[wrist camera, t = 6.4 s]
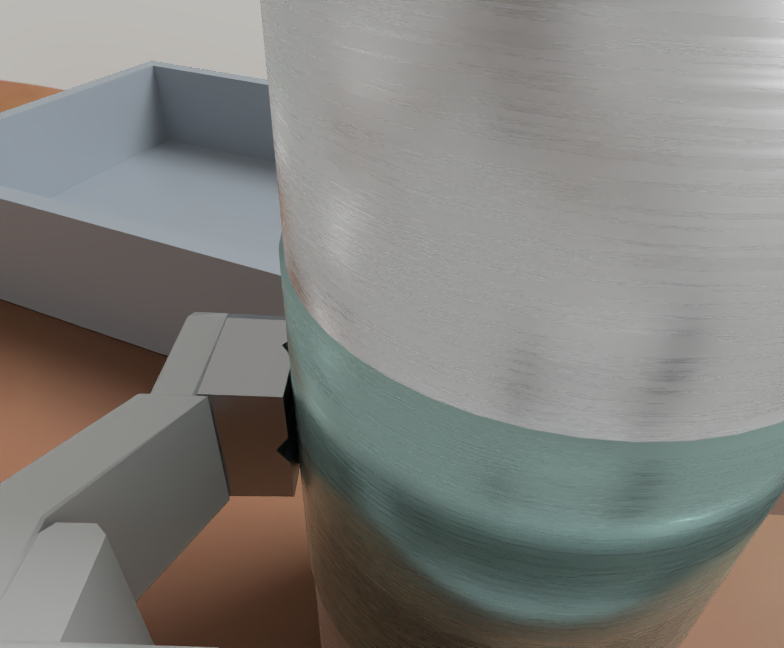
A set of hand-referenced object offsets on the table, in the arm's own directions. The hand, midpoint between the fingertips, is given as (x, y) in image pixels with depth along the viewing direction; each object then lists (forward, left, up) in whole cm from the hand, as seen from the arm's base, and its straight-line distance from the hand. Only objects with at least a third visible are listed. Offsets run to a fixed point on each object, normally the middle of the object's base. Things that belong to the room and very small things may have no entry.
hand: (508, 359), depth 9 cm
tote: (-13, +10, -7) cm, 18 cm away
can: (0, -1, -7) cm, 7 cm away
